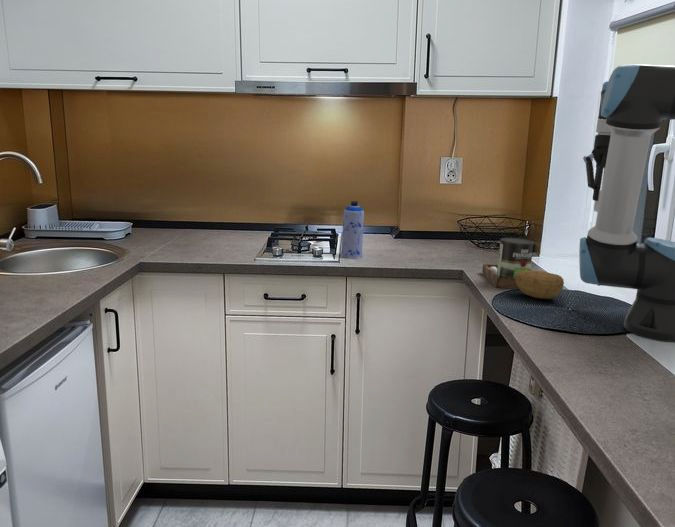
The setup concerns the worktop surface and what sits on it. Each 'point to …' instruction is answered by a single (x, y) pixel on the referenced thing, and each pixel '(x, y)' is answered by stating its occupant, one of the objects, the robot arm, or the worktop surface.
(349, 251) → the aerosol can
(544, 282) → the potato
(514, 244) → the coffee can
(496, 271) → the pebble
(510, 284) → the tray frame
